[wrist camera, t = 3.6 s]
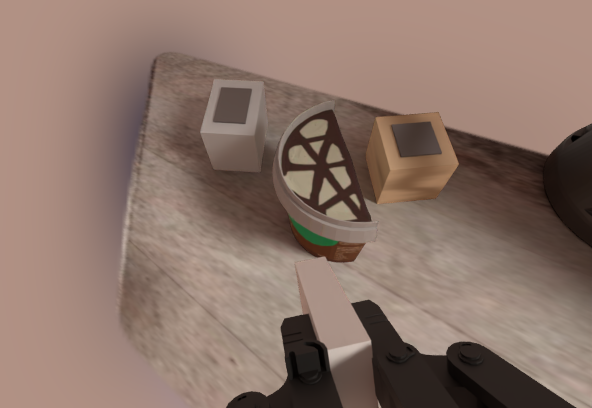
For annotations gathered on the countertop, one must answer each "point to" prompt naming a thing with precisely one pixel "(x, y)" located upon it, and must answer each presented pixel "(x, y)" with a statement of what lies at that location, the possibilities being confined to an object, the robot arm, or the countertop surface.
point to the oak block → (409, 157)
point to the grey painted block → (235, 125)
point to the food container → (321, 187)
